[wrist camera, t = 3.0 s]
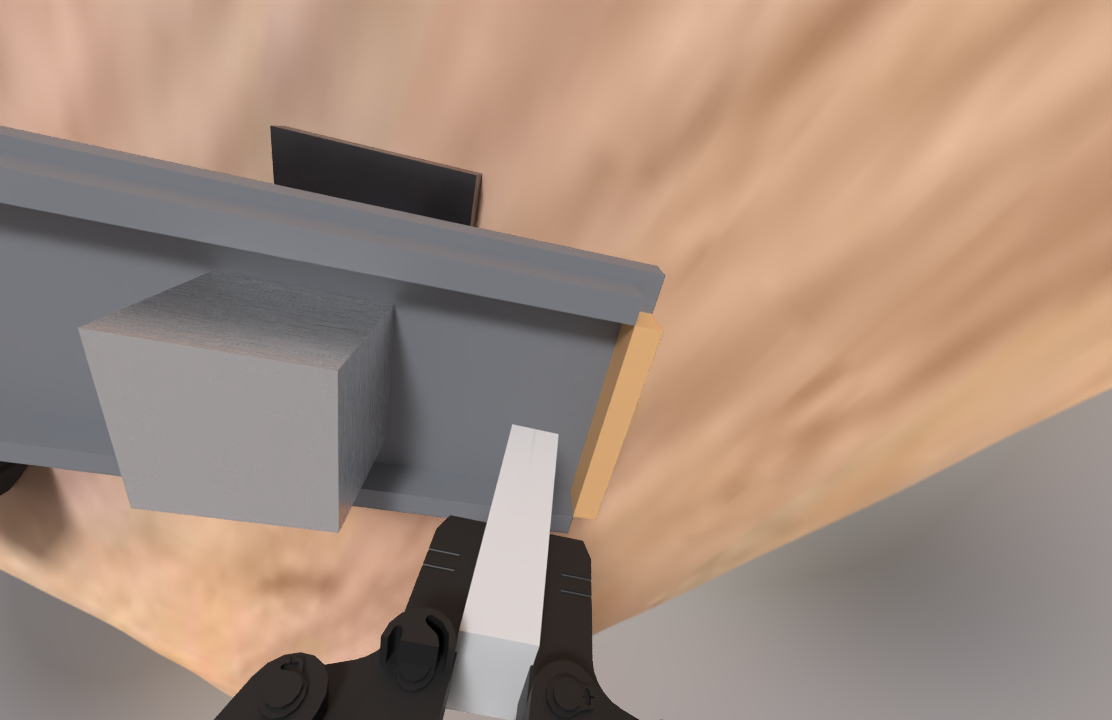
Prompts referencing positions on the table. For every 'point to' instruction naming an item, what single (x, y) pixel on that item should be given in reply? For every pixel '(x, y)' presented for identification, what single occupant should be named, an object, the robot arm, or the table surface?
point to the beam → (337, 266)
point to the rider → (245, 398)
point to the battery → (10, 474)
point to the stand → (373, 176)
